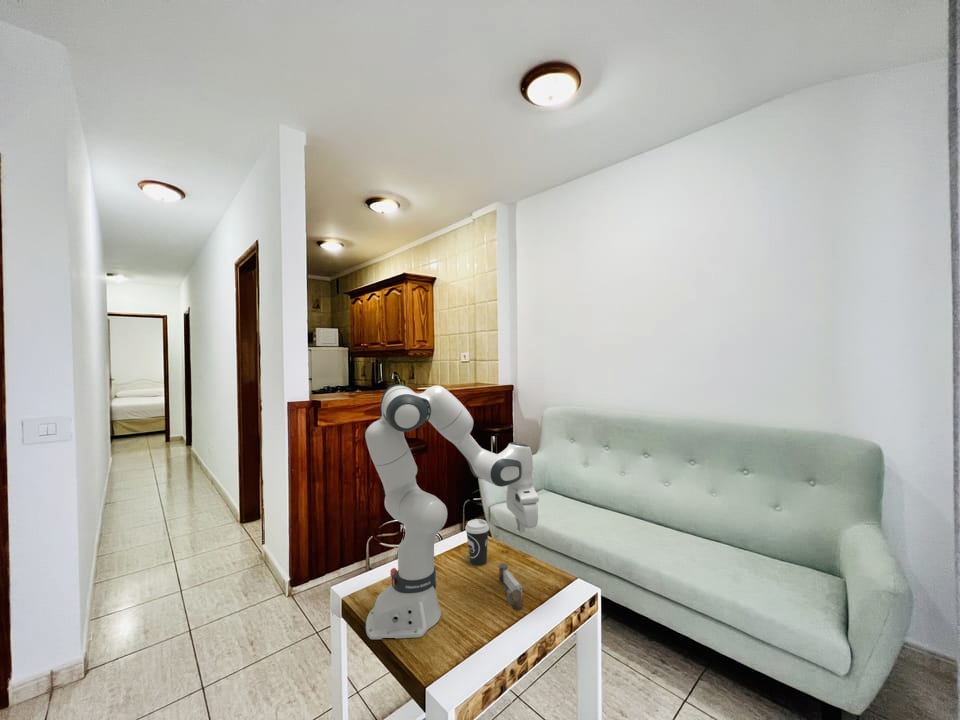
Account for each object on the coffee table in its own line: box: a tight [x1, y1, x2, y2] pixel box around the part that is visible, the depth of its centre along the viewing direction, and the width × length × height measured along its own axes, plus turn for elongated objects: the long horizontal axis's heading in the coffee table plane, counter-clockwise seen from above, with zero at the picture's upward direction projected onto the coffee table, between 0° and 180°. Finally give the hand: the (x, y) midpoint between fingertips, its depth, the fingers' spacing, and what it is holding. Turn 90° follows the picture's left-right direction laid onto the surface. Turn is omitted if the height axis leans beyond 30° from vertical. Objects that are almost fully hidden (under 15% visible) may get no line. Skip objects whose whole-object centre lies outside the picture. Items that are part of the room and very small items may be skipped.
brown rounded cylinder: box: [506, 590, 523, 611], centre depth 121 cm, size 4×5×5 cm, turn 13°
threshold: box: [502, 583, 513, 601], centre depth 128 cm, size 2×9×1 cm, turn 12°
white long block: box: [503, 568, 523, 596], centre depth 128 cm, size 12×2×4 cm, turn 19°
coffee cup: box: [464, 518, 490, 567], centre depth 149 cm, size 10×10×15 cm
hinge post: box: [498, 562, 509, 583], centre depth 136 cm, size 3×3×5 cm
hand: (521, 530), depth 130 cm, fingers closed
